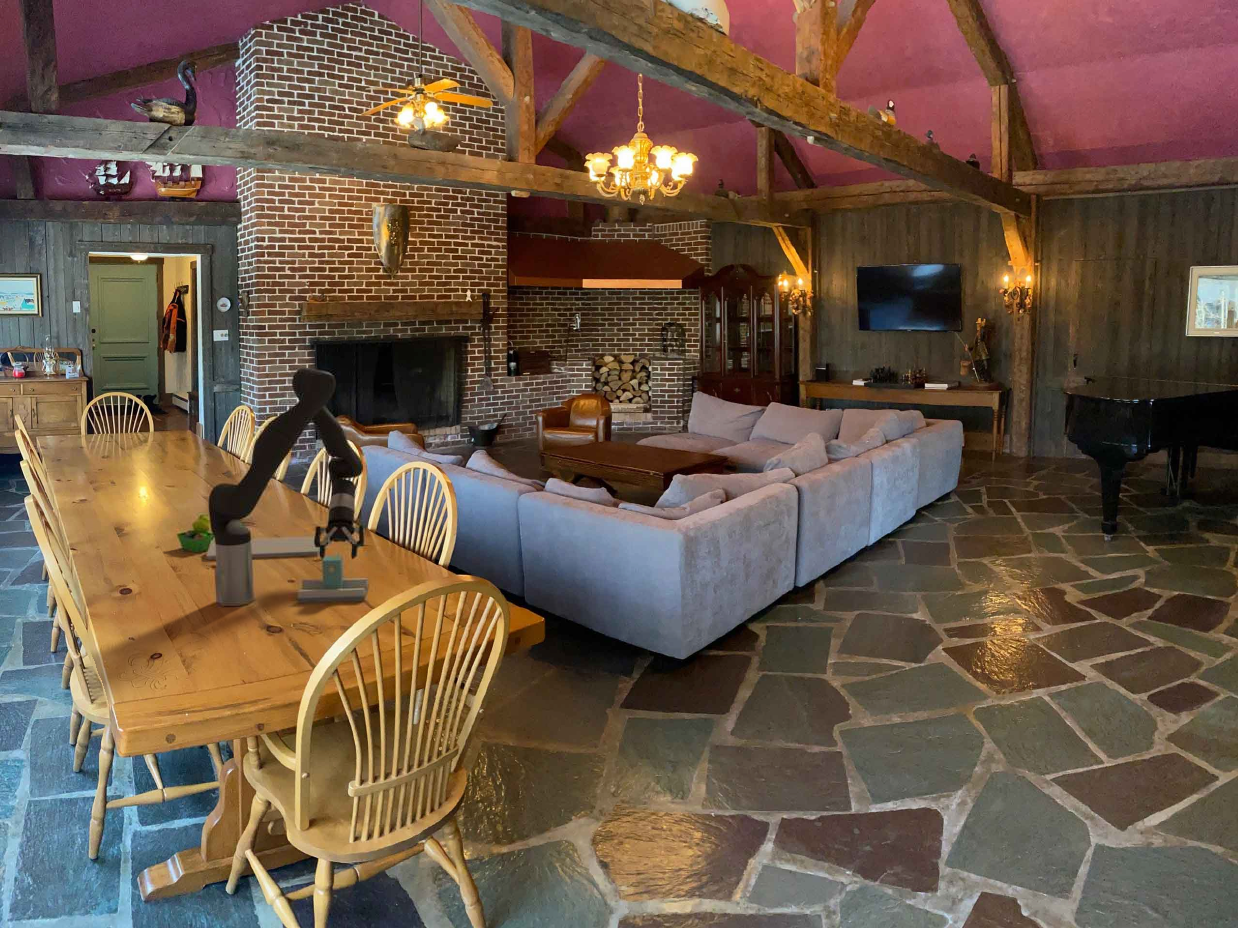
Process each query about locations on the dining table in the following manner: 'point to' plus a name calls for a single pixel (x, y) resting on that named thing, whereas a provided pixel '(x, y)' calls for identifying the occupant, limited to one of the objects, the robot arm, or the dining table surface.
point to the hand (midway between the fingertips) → (337, 558)
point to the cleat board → (333, 591)
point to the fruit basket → (197, 535)
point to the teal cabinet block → (332, 572)
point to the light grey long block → (276, 547)
